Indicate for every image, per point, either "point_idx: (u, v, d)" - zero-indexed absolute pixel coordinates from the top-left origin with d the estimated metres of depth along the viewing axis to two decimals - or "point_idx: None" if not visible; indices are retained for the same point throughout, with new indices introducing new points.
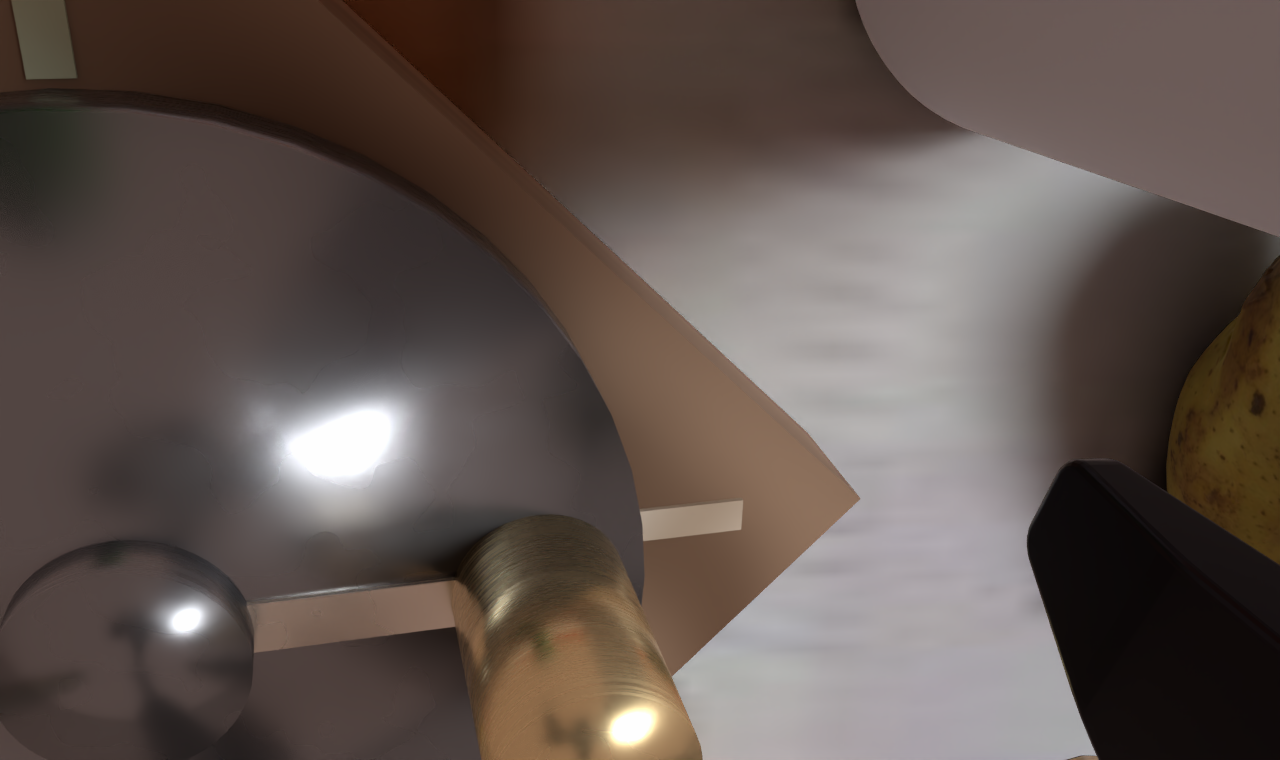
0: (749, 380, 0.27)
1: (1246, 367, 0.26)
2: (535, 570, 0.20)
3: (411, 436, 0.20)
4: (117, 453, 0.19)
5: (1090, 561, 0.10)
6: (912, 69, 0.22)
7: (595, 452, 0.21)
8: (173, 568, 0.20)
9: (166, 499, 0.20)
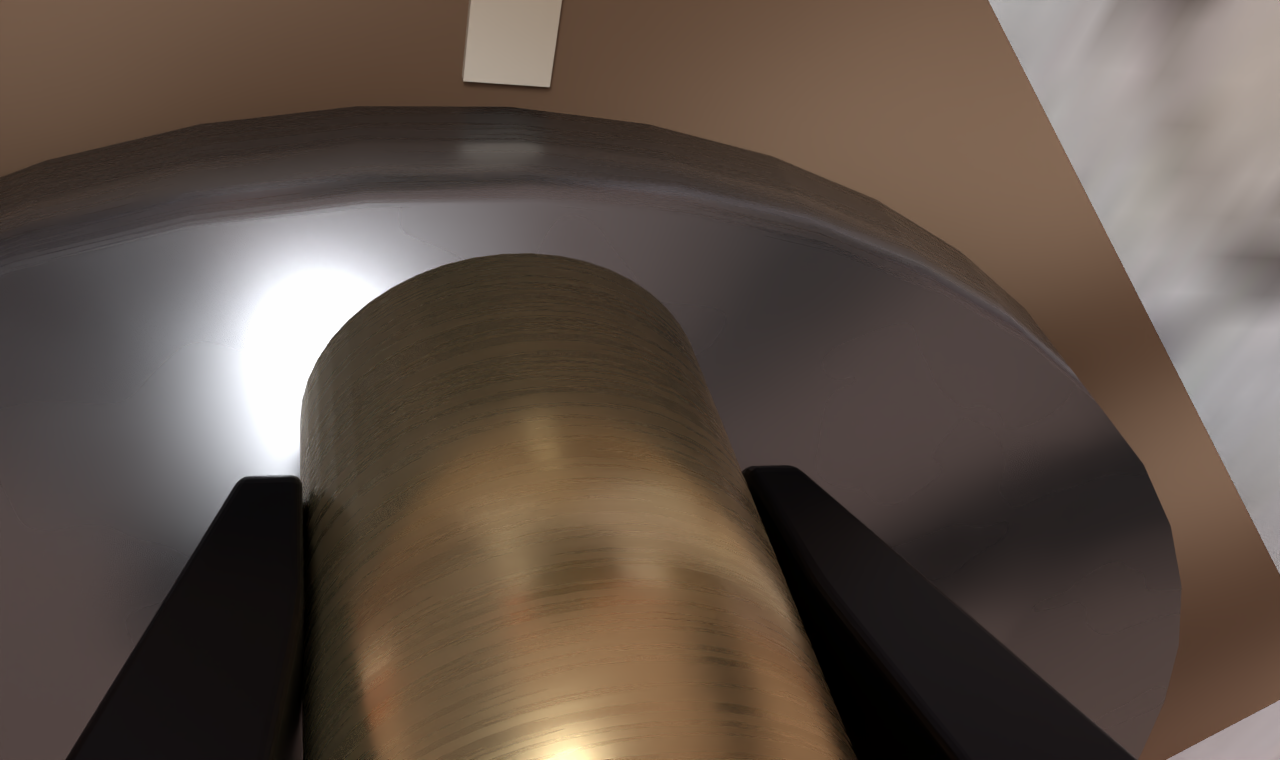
0: None
1: None
2: None
3: (72, 615, 0.10)
4: None
5: None
6: None
7: (127, 310, 0.08)
8: None
9: None
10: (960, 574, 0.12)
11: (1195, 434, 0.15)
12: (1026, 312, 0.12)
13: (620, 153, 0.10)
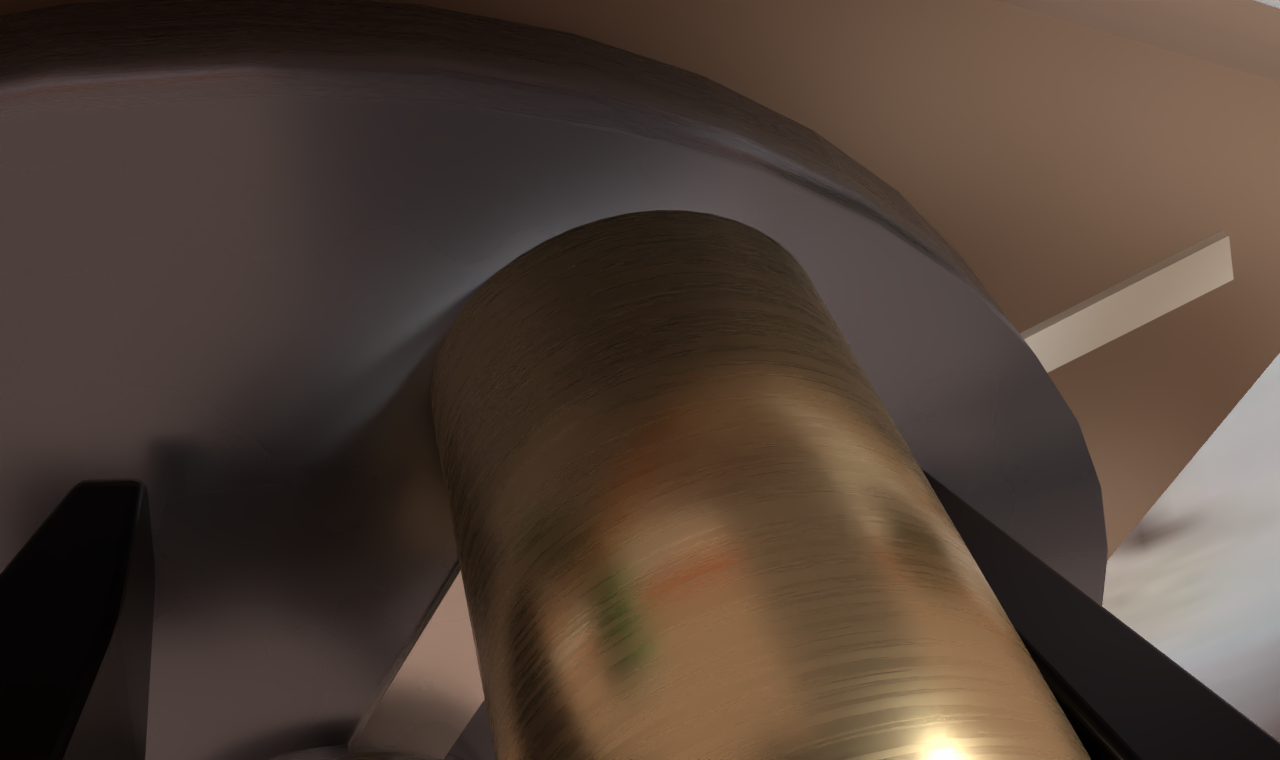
0: None
1: None
2: (466, 529, 0.08)
3: None
4: None
5: None
6: None
7: (345, 171, 0.08)
8: None
9: None
10: None
11: None
12: None
13: (804, 149, 0.10)
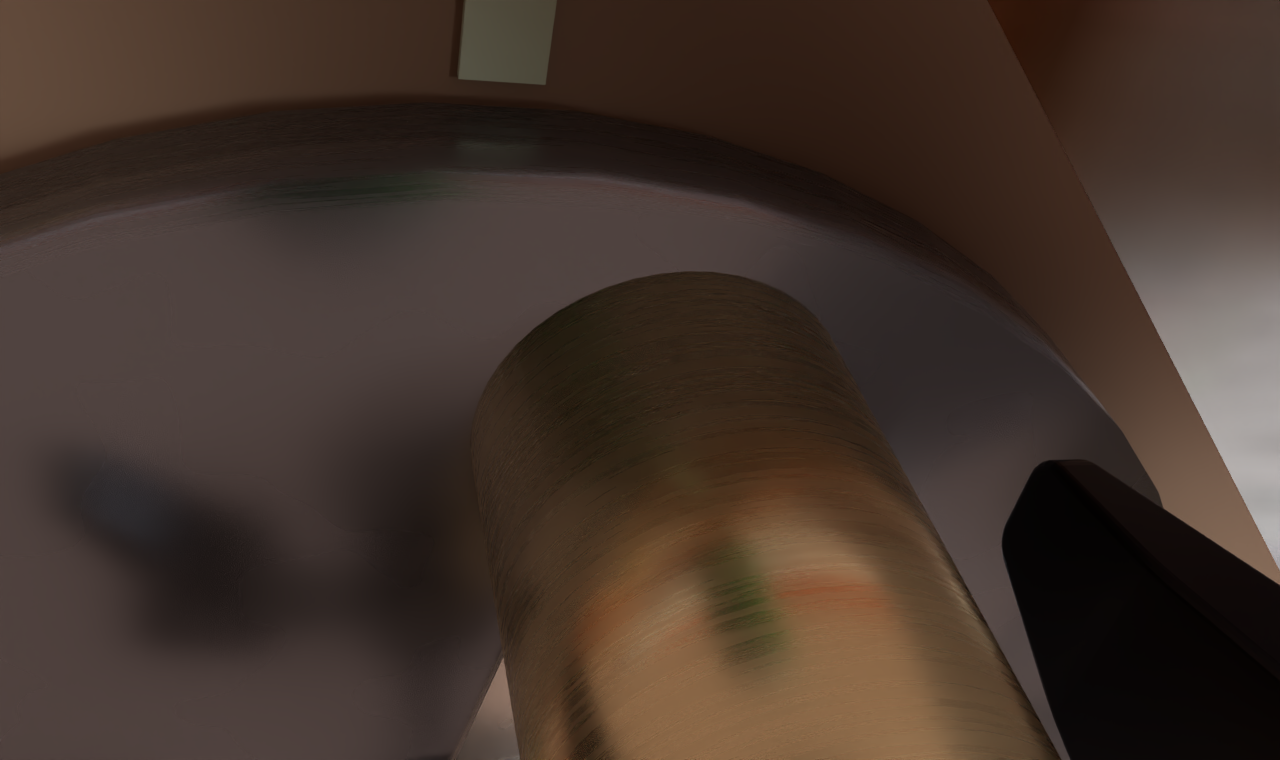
0: None
1: None
2: (497, 588, 0.09)
3: (194, 564, 0.10)
4: None
5: (1062, 562, 0.10)
6: None
7: (363, 269, 0.09)
8: None
9: None
10: (996, 634, 0.13)
11: None
12: None
13: (809, 196, 0.10)
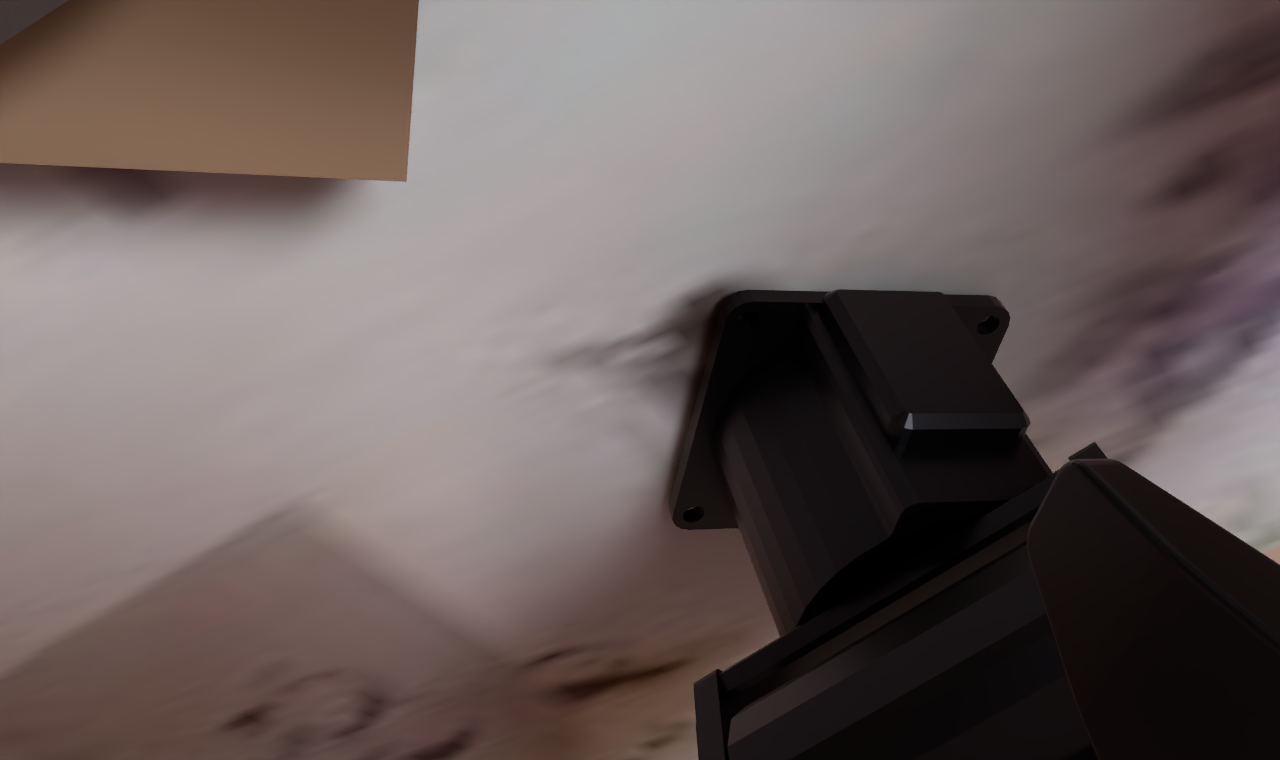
0: None
1: None
2: None
3: None
4: None
5: (1090, 561, 0.10)
6: None
7: None
8: None
9: None
10: None
11: None
12: None
13: None
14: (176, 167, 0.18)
